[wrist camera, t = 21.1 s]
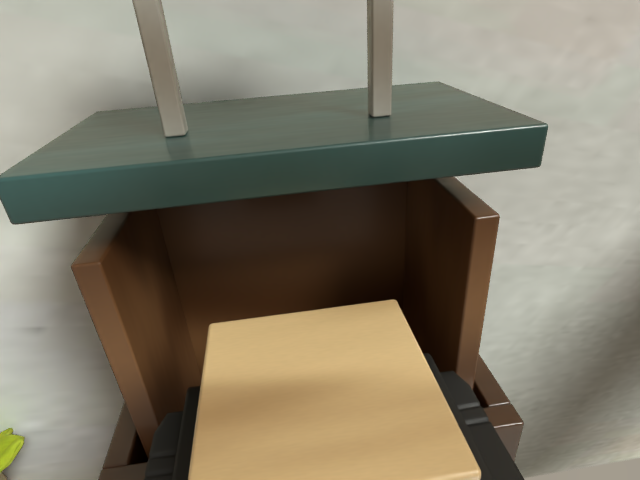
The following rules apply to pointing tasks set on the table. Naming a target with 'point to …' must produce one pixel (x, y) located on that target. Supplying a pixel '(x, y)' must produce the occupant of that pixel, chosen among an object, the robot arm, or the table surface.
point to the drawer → (275, 212)
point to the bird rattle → (9, 449)
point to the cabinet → (131, 460)
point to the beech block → (324, 401)
